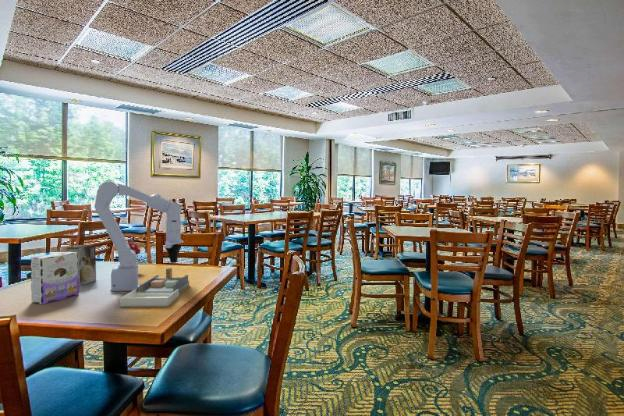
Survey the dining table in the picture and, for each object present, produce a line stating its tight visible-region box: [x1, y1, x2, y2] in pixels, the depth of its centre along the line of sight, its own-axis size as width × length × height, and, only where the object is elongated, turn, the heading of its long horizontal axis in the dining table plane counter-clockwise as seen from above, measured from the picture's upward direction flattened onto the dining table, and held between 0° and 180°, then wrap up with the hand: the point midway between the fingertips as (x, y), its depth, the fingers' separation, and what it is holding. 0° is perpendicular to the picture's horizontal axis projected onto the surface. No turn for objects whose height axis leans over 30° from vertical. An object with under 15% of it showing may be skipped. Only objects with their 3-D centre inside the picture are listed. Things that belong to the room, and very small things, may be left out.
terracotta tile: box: [151, 280, 165, 287], centre depth 150 cm, size 4×4×2 cm
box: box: [119, 289, 180, 308], centre depth 136 cm, size 16×12×3 cm
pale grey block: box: [155, 267, 184, 282], centre depth 155 cm, size 11×2×5 cm, turn 92°
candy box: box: [30, 251, 80, 305], centre depth 138 cm, size 14×6×16 cm, turn 157°
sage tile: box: [165, 280, 179, 287], centre depth 150 cm, size 4×4×2 cm
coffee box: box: [66, 244, 97, 286], centre depth 162 cm, size 9×6×16 cm
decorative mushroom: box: [127, 241, 141, 256], centre depth 182 cm, size 10×9×15 cm
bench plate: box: [138, 274, 190, 295], centre depth 150 cm, size 14×17×4 cm
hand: (173, 262), depth 160 cm, fingers closed
